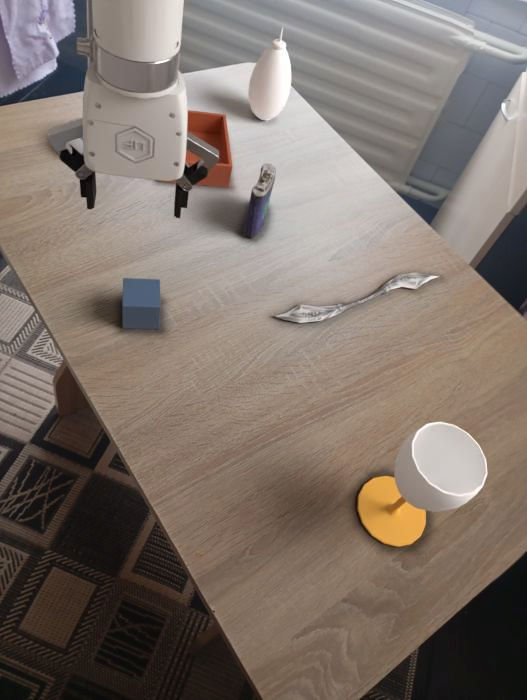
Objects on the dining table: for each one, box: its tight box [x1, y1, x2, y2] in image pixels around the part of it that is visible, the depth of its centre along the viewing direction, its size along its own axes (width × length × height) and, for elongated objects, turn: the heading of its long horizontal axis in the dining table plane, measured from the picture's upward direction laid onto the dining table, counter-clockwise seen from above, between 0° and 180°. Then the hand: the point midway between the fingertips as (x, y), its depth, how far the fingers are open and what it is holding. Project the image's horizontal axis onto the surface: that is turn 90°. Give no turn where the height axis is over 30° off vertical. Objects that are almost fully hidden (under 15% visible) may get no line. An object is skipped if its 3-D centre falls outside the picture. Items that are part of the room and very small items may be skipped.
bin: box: [158, 109, 233, 188], centre depth 102 cm, size 12×15×4 cm
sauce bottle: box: [247, 26, 292, 121], centre depth 108 cm, size 8×8×18 cm
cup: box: [356, 421, 488, 548], centre depth 65 cm, size 9×9×16 cm
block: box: [121, 277, 161, 330], centre depth 79 cm, size 5×5×5 cm
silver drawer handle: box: [275, 271, 441, 324], centre depth 91 cm, size 32×1×5 cm
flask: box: [242, 163, 277, 240], centre depth 92 cm, size 9×3×11 cm, turn 166°
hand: (135, 205), depth 65 cm, fingers open, 9 cm apart
